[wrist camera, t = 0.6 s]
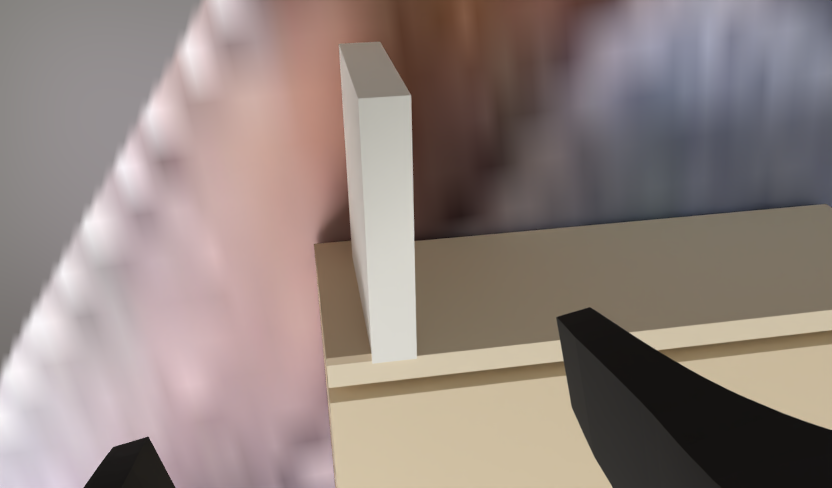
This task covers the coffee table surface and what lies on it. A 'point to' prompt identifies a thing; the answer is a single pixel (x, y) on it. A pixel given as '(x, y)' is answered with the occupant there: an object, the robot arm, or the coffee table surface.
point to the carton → (538, 417)
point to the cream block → (538, 267)
